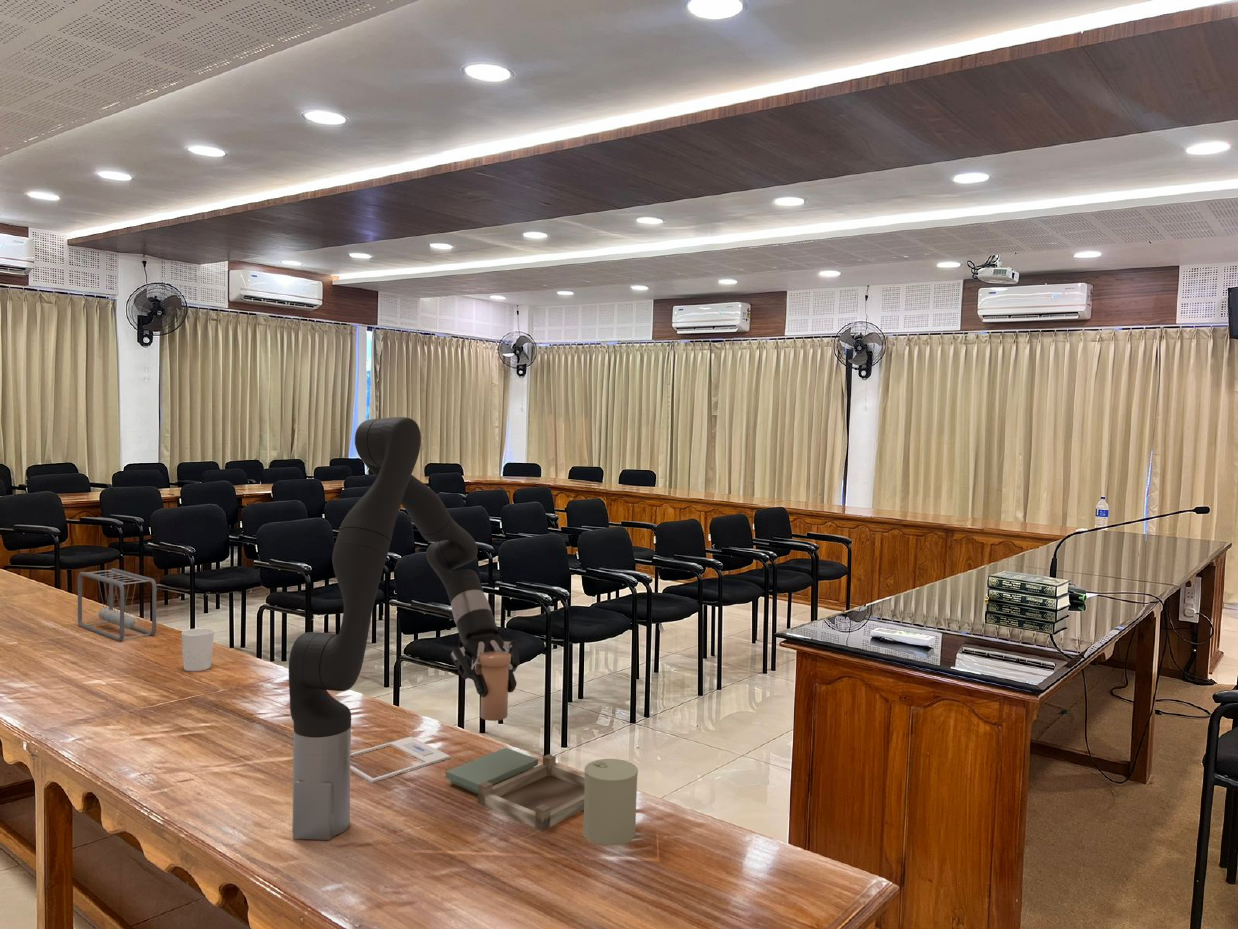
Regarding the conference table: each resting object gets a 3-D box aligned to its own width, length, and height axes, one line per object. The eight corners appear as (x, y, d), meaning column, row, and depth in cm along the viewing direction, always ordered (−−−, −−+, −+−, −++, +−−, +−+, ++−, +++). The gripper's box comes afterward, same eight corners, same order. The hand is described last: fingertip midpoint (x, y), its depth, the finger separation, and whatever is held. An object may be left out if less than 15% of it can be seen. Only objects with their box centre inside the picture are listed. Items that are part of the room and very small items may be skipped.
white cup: (181, 665, 236) (182, 629, 236) (213, 662, 239) (213, 627, 239) (180, 673, 229) (180, 636, 228) (213, 670, 232) (213, 634, 232)
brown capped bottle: (507, 722, 164) (508, 660, 163) (475, 721, 164) (477, 659, 163) (511, 711, 170) (513, 651, 169) (481, 710, 170) (482, 650, 169)
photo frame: (450, 755, 178) (371, 779, 165) (450, 760, 178) (371, 785, 165) (411, 735, 188) (334, 757, 175) (411, 740, 188) (334, 762, 175)
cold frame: (611, 797, 162) (612, 776, 162) (542, 833, 147) (543, 810, 147) (548, 773, 172) (549, 754, 171) (477, 805, 156) (478, 784, 156)
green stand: (537, 774, 171) (538, 759, 171) (478, 800, 159) (478, 784, 158) (505, 762, 177) (505, 747, 177) (445, 786, 164) (445, 771, 164)
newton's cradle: (157, 636, 265) (157, 579, 264) (121, 643, 257) (121, 584, 256) (112, 620, 283) (112, 567, 282) (77, 626, 274) (77, 571, 273)
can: (606, 817, 154) (608, 751, 153) (647, 834, 148) (649, 766, 147) (570, 836, 146) (573, 766, 146) (612, 854, 141) (614, 782, 140)
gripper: (446, 611, 168) (470, 688, 159) (511, 604, 176) (538, 677, 167) (434, 631, 173) (458, 708, 164) (499, 624, 181) (525, 696, 172)
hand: (498, 692), depth 165 cm, fingers closed on brown capped bottle, 5 cm apart
